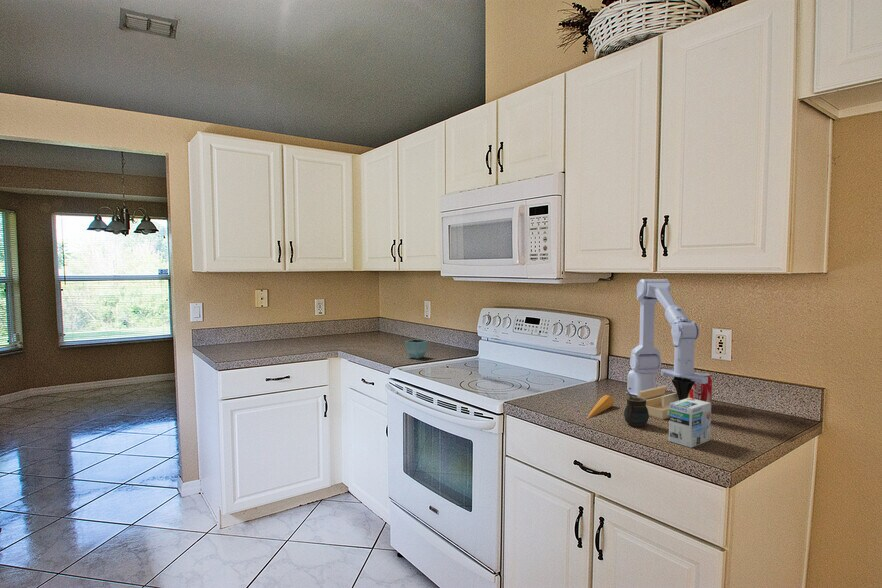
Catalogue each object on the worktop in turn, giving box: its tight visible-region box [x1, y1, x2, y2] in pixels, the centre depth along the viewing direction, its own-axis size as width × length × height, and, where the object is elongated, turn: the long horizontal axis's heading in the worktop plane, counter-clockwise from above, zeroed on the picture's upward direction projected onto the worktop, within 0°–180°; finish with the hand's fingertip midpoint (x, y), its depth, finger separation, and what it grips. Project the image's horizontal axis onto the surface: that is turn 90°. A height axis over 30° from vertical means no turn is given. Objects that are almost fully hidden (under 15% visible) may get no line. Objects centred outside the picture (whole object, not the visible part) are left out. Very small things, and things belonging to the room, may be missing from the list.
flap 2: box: [660, 391, 690, 407], centre depth 161 cm, size 3×15×1 cm
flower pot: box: [404, 339, 429, 360], centre depth 261 cm, size 9×9×9 cm
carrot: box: [587, 394, 614, 419], centre depth 166 cm, size 20×4×4 cm, turn 142°
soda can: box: [689, 371, 713, 404], centre depth 169 cm, size 7×7×12 cm
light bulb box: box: [668, 398, 712, 449], centre depth 138 cm, size 11×7×11 cm, turn 126°
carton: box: [646, 396, 670, 421], centre depth 165 cm, size 10×16×3 cm, turn 124°
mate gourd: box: [623, 389, 650, 428], centre depth 152 cm, size 7×8×10 cm
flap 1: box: [636, 385, 668, 400], centre depth 169 cm, size 3×15×1 cm
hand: (682, 401), depth 159 cm, fingers closed
